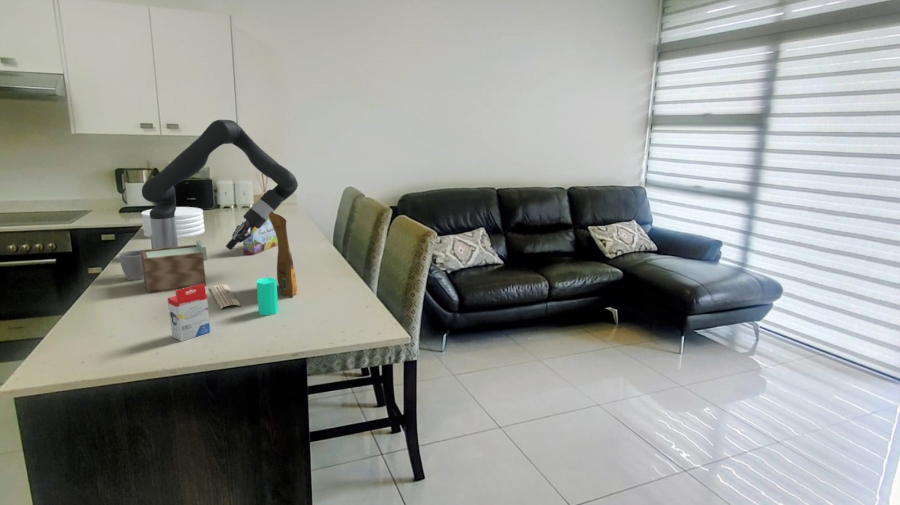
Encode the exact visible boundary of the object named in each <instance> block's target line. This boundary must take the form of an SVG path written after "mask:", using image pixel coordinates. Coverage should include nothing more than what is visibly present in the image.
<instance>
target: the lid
mask: <svg viewBox="0 0 900 505" xmlns="http://www.w3.org/2000/svg"><path fill="white" fill-rule="evenodd" d="M195 243H196V244H195V245H196V247H190V248H180V249H170V250H160V251H150V252H146V255H147V257H148V258H152V257H161V256H171V255H180V254H190V253H199V252H203V260H204V262H206V261H207V260H208V258H207V257H208V256H207V247H206V245H204V243H203V242H202V241H201V240H200V239H199V240H195Z"/></svg>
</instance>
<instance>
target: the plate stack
mask: <svg viewBox="0 0 900 505" xmlns="http://www.w3.org/2000/svg"><path fill="white" fill-rule="evenodd" d="M152 209H153V208H151V209H146V210H143V211H142V212H141V219H142V220H141V221H142V226H143V228H142V229H143V235H144V237H147V238H150V235H152V230H151V221H150V211H151V210H152ZM204 222H205V220H204V210H203V209H202V208H199V207H194V206H193V207H190V206H176V211H175V223H176V232H177V239H181V237H182V238H188V237H189V236H190V237H195V236H199V235H201V234H204V233H205V232H206V231H205V223H204ZM190 237H189V238H190Z"/></svg>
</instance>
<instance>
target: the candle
mask: <svg viewBox="0 0 900 505" xmlns="http://www.w3.org/2000/svg"><path fill="white" fill-rule="evenodd" d="M256 292H257V309H258V314H259V315H261V316H272V315H276V314H277V313H279V303H278V302H279V301H278V281H277V278H276V279H275V277H271V276H267V275H265V277H263V278H258V279H257V280H256Z"/></svg>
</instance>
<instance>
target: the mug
mask: <svg viewBox="0 0 900 505" xmlns="http://www.w3.org/2000/svg"><path fill="white" fill-rule="evenodd" d="M118 255H119V256H118V257H119V258H118V259H119V262H120V266H121V269H122V272H123V274H124V275H125V276H126V278H127V279H129V280H128V281H139V280H138V279H140V280H144V275H143V267H142V259H141V251H140V250H128V251H124V252H123V251H122V252H121V253H119V254H118Z"/></svg>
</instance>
